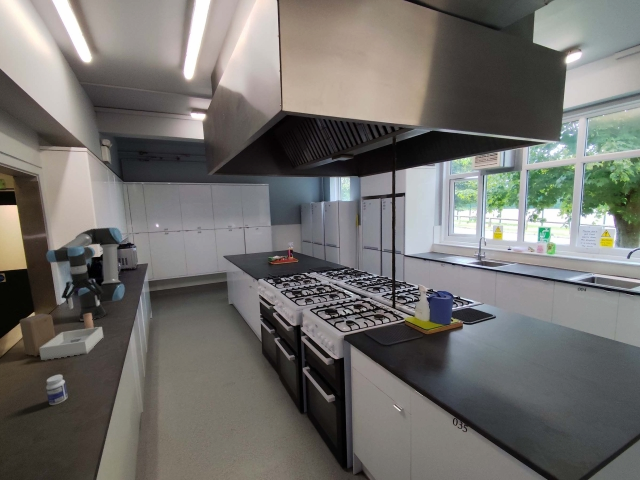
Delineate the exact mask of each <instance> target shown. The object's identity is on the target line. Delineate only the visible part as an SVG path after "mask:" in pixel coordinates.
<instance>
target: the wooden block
mask: <svg viewBox="0 0 640 480" xmlns="http://www.w3.org/2000/svg"><path fill="white" fill-rule="evenodd" d="M19 325H20V330H21V335H22V336H21V337H22V341H23V346H24V352H25V355H27V354H28V355H27V356H31V355H34V356H33V357H38V356H37V355H39V354H40V350H39V348H40V347H42V346H43V345H44V344H46V343H47V342H49V341H50V340H52V339H53V338H54V337H56V333H55V327H54V321H53V316H52V315H51V314H45V313H38V314H35V315H32V316H28V317H25V318H21V319H20V320H19ZM39 356H40V355H39Z"/></svg>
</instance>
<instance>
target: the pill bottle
mask: <svg viewBox="0 0 640 480" xmlns="http://www.w3.org/2000/svg"><path fill="white" fill-rule="evenodd" d="M63 378H64V377H63V374H55V375H52V376H50V377H48V378H47V379H46V384H47V385H46V387H45V390H46V395H47V400H48V404H49V405H50V406H55V405H58V404H61V403H64V402H65V400H67V399H68V390H67V383H66V381H65V379H63Z"/></svg>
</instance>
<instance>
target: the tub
mask: <svg viewBox="0 0 640 480" xmlns="http://www.w3.org/2000/svg"><path fill="white" fill-rule="evenodd" d="M102 338H103V339H104V332H103V327H102V326H99V327H98V326H96V327H94V328H89V329H85V328H82V329H74V330H68V331H62V332H60V333H58V334H57V335H55V337H54V338H53V339H52V340H50V341H49V342H47V343H46V344H44V345H43V346H42V347H40V348H39V350H40V355H39V356H40V361H41V360H45V361H48V360H47V359H51V360H55V359H54V358H58V359H62V358H61V357H64V358H68V357H67V356H70V357H75V356H74V355H77V356H81V355H80V354H83V355H88V354H89V352H91V350H93V349H94V348H95V347H96V346H97V345H98V344H99V343H98V342H99V341H100V340H101V339H102ZM103 339H102V340H103ZM102 340H101V341H102ZM101 341H100V342H101ZM97 343H98V344H97ZM96 344H97V345H96ZM95 345H96V346H95ZM94 346H95V347H94Z"/></svg>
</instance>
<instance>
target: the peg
mask: <svg viewBox="0 0 640 480" xmlns="http://www.w3.org/2000/svg"><path fill="white" fill-rule="evenodd" d="M83 318H84V329H89V328H95V327H94V320H92V313H87V314H84V315H83Z"/></svg>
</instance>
